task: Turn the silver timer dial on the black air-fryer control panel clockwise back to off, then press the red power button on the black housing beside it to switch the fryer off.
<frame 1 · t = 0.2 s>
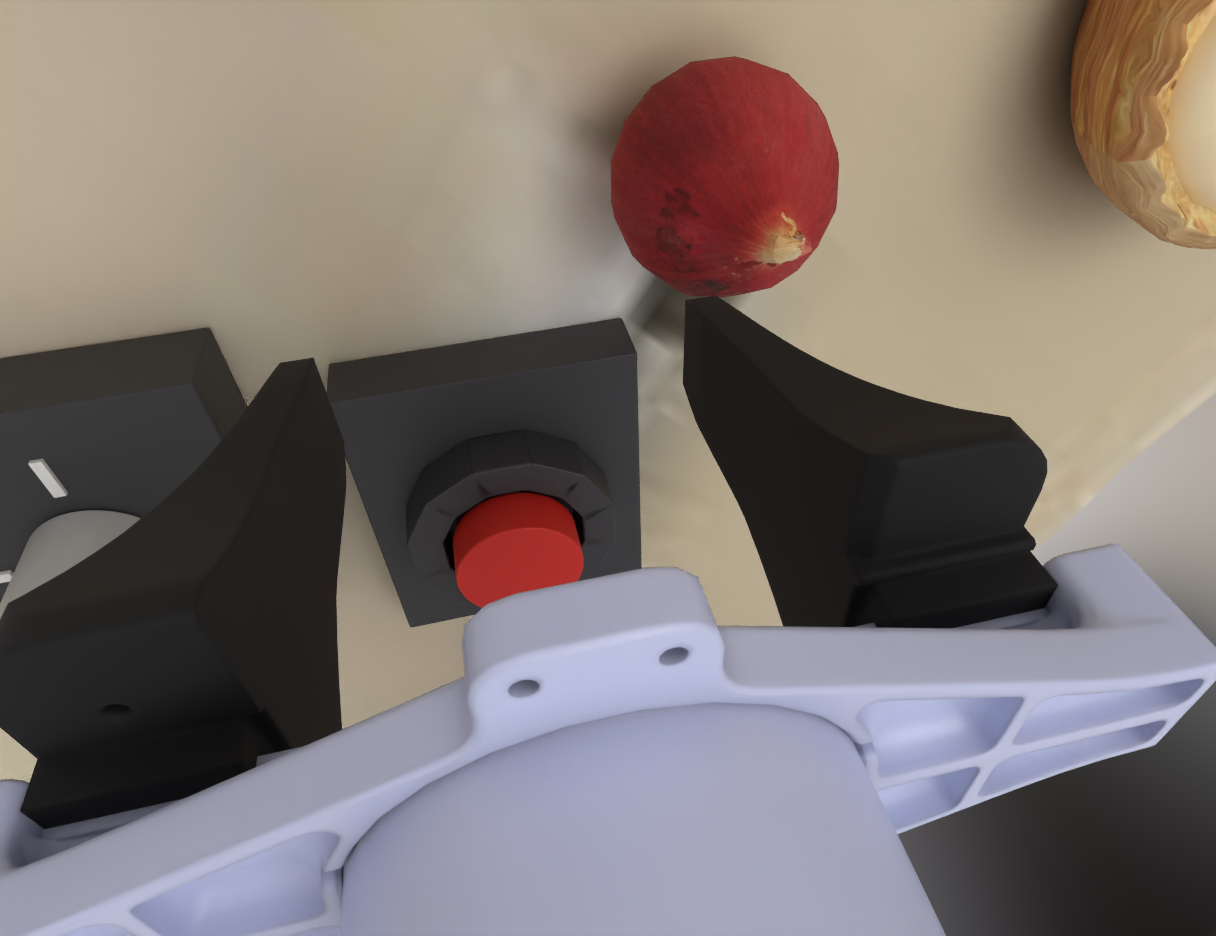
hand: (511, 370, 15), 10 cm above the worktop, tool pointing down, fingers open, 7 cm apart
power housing: (503, 468, 30), on the worktop
timer dial: (93, 603, 24), point 5 cm above the worktop, hinge at 100.0°
timer panel: (130, 492, 27), on the worktop
onion: (679, 131, 23), on the worktop
power button: (518, 554, 27), point 5 cm above the worktop, slide at 0.2 cm
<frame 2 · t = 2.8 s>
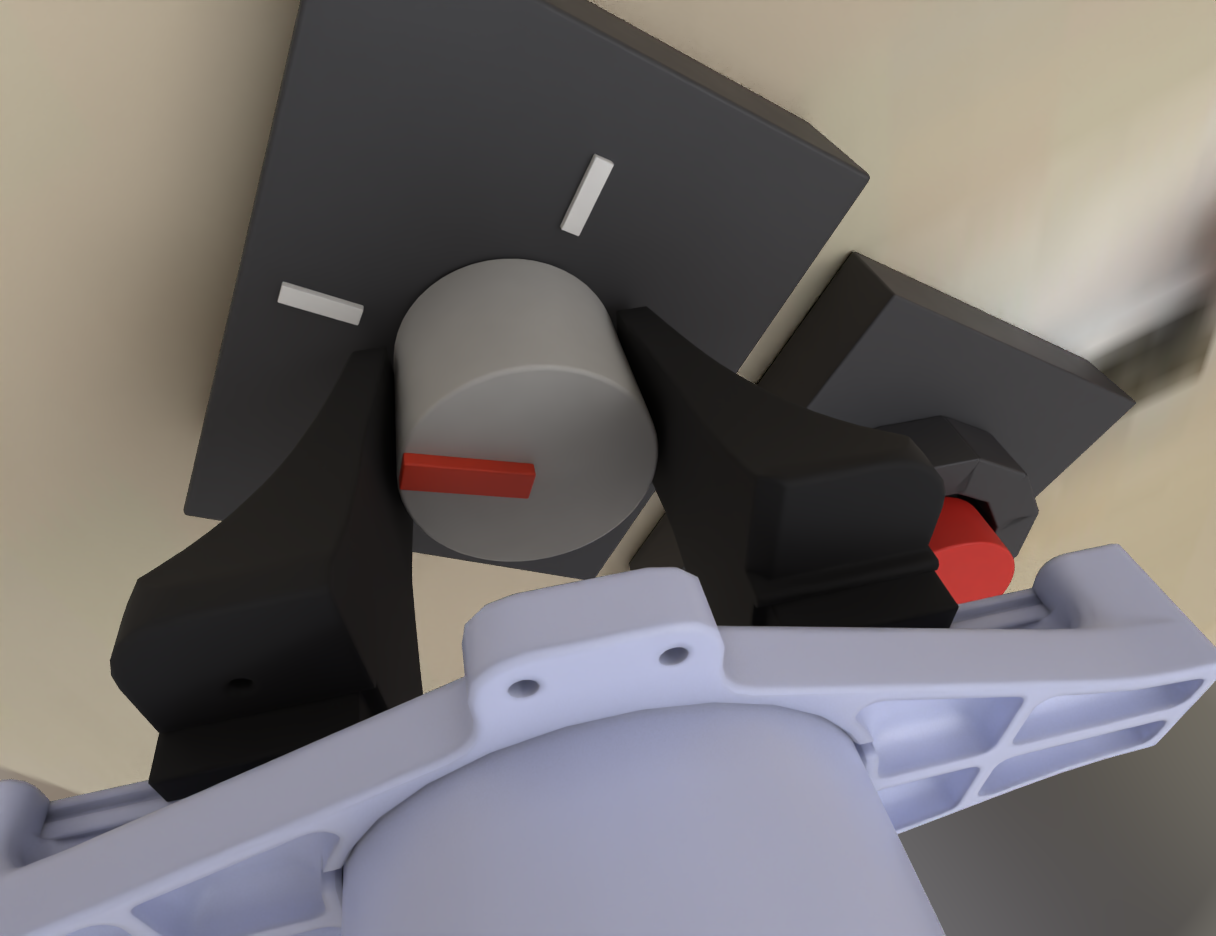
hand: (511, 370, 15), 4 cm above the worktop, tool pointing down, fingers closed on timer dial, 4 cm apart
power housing: (848, 465, 25), on the worktop
timer dial: (520, 416, 14), point 5 cm above the worktop, hinge at 99.9°, touching gripper
timer panel: (491, 283, 18), on the worktop
power button: (920, 574, 21), point 5 cm above the worktop, slide at 0.2 cm
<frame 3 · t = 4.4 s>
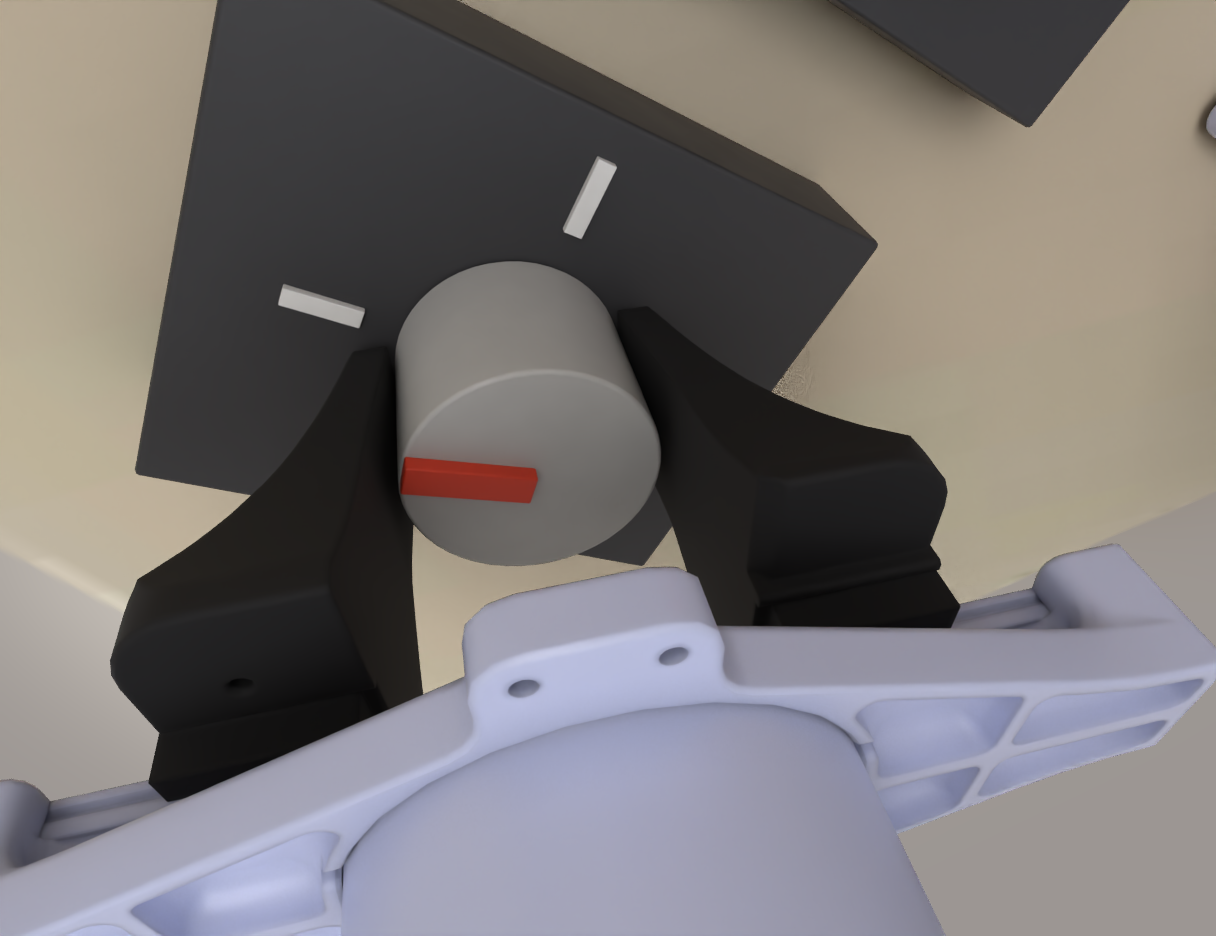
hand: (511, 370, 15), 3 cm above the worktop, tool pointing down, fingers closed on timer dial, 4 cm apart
timer dial: (522, 420, 14), point 5 cm above the worktop, hinge at 9.8°, touching gripper
timer panel: (493, 285, 17), on the worktop
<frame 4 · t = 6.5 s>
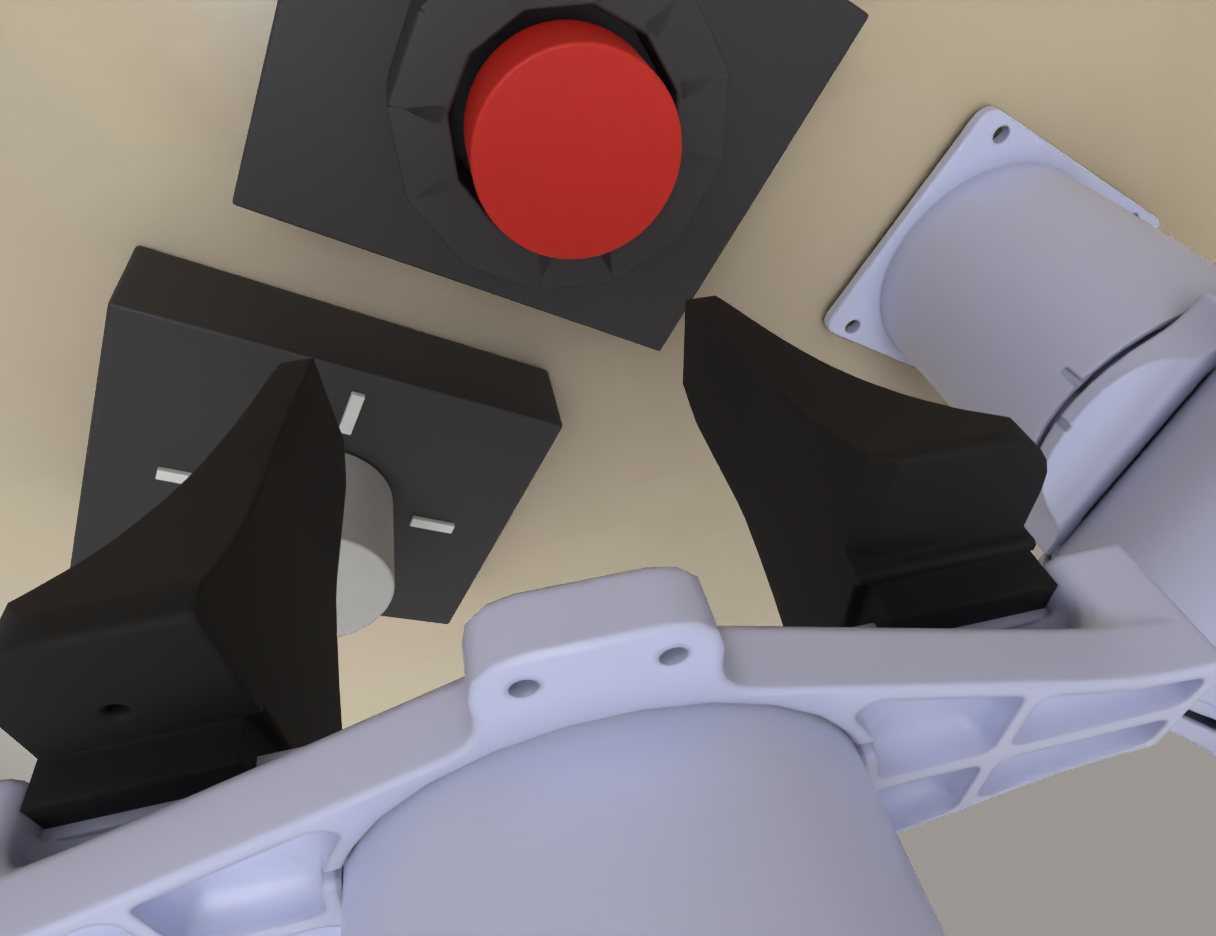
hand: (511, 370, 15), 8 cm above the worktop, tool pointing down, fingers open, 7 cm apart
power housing: (539, 80, 20), on the worktop
timer dial: (313, 548, 22), point 5 cm above the worktop, hinge at 9.8°
timer panel: (322, 438, 25), on the worktop
power button: (571, 145, 16), point 5 cm above the worktop, slide at 0.2 cm
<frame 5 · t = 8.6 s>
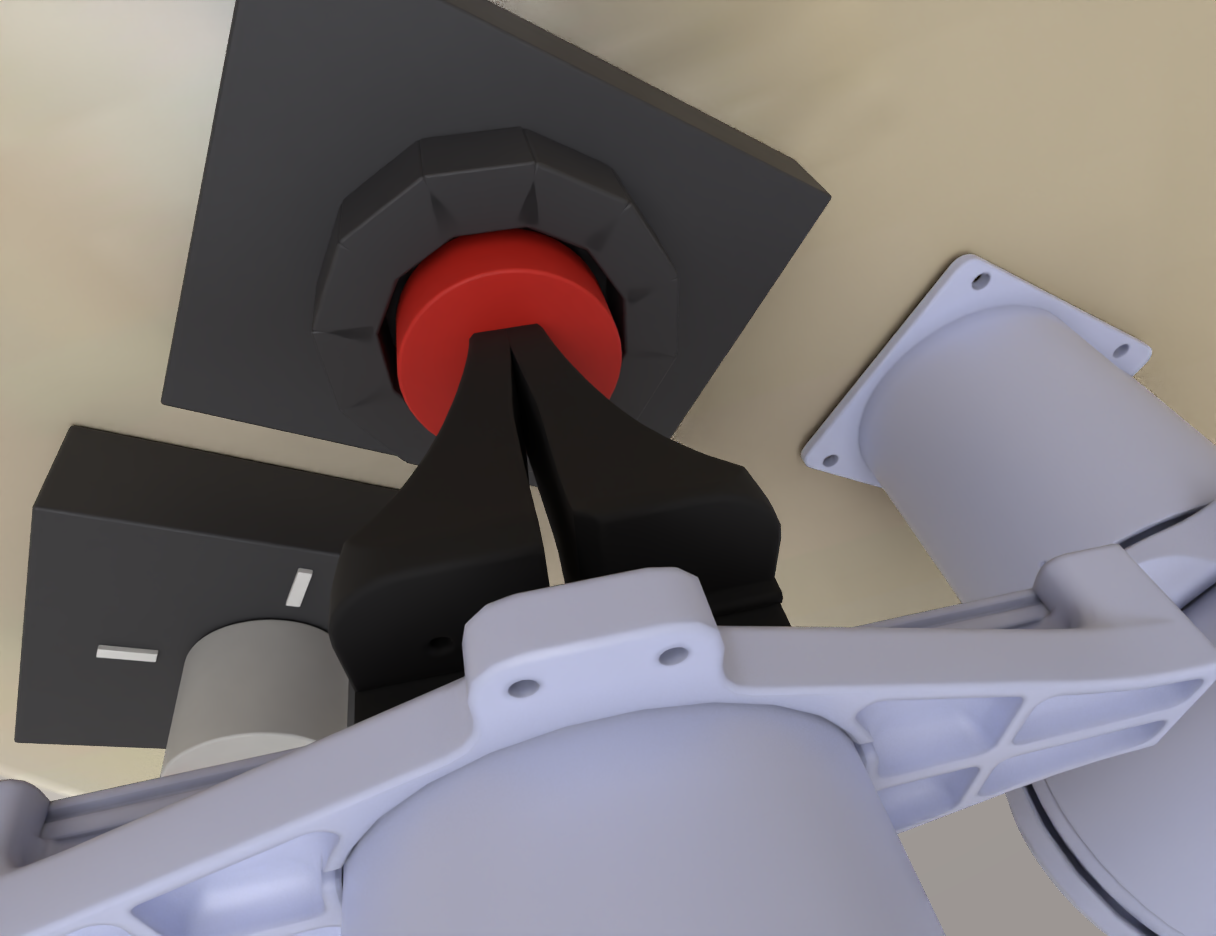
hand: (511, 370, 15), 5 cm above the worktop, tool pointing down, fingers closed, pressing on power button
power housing: (488, 254, 19), on the worktop
timer dial: (262, 724, 21), point 5 cm above the worktop, hinge at 9.8°
timer panel: (279, 584, 25), on the worktop
power button: (508, 347, 16), point 4 cm above the worktop, slide at -0.3 cm, touching gripper
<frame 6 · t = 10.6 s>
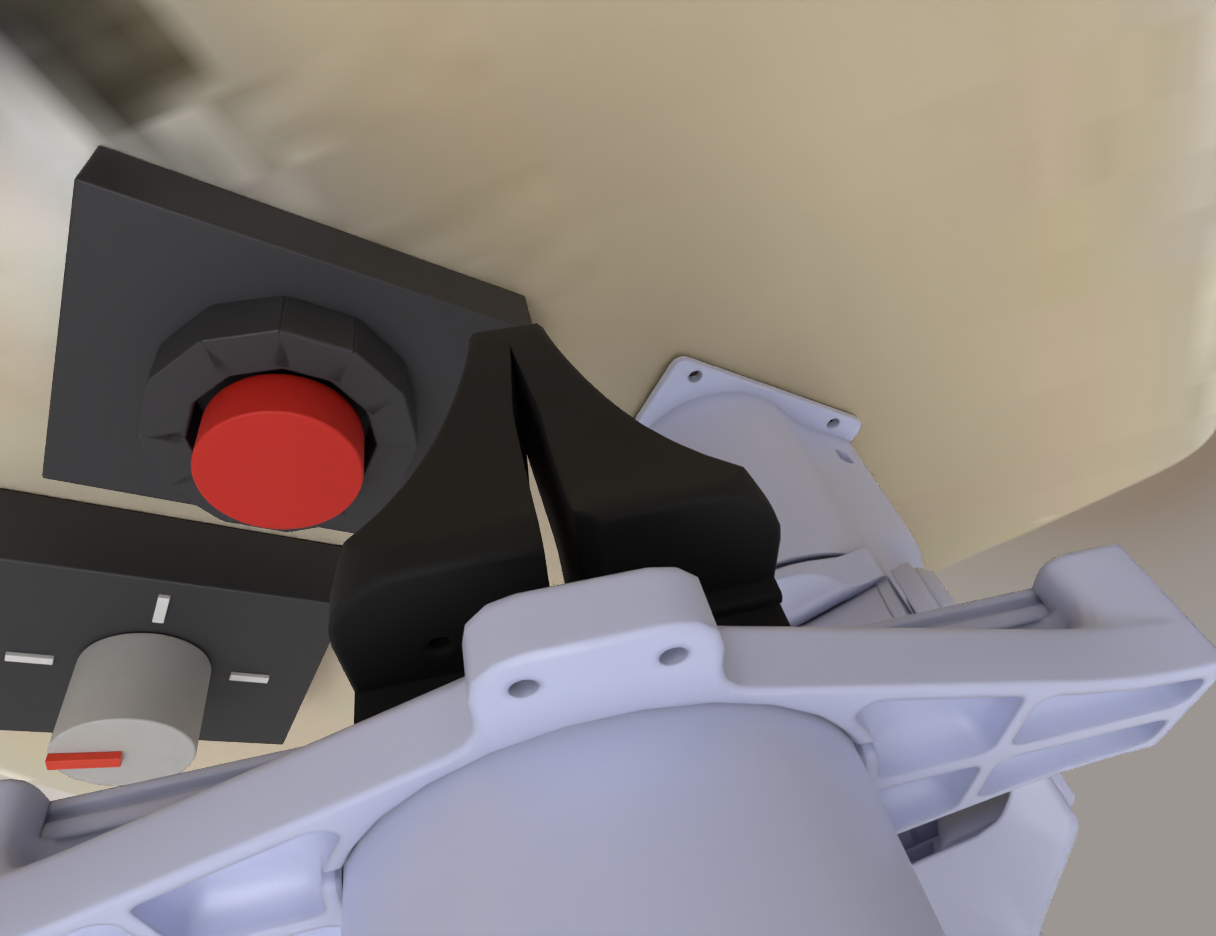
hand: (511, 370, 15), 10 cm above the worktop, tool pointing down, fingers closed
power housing: (295, 363, 25), on the worktop
timer dial: (134, 713, 27), point 5 cm above the worktop, hinge at 9.8°
timer panel: (162, 603, 31), on the worktop
power button: (282, 454, 22), point 5 cm above the worktop, slide at 0.2 cm
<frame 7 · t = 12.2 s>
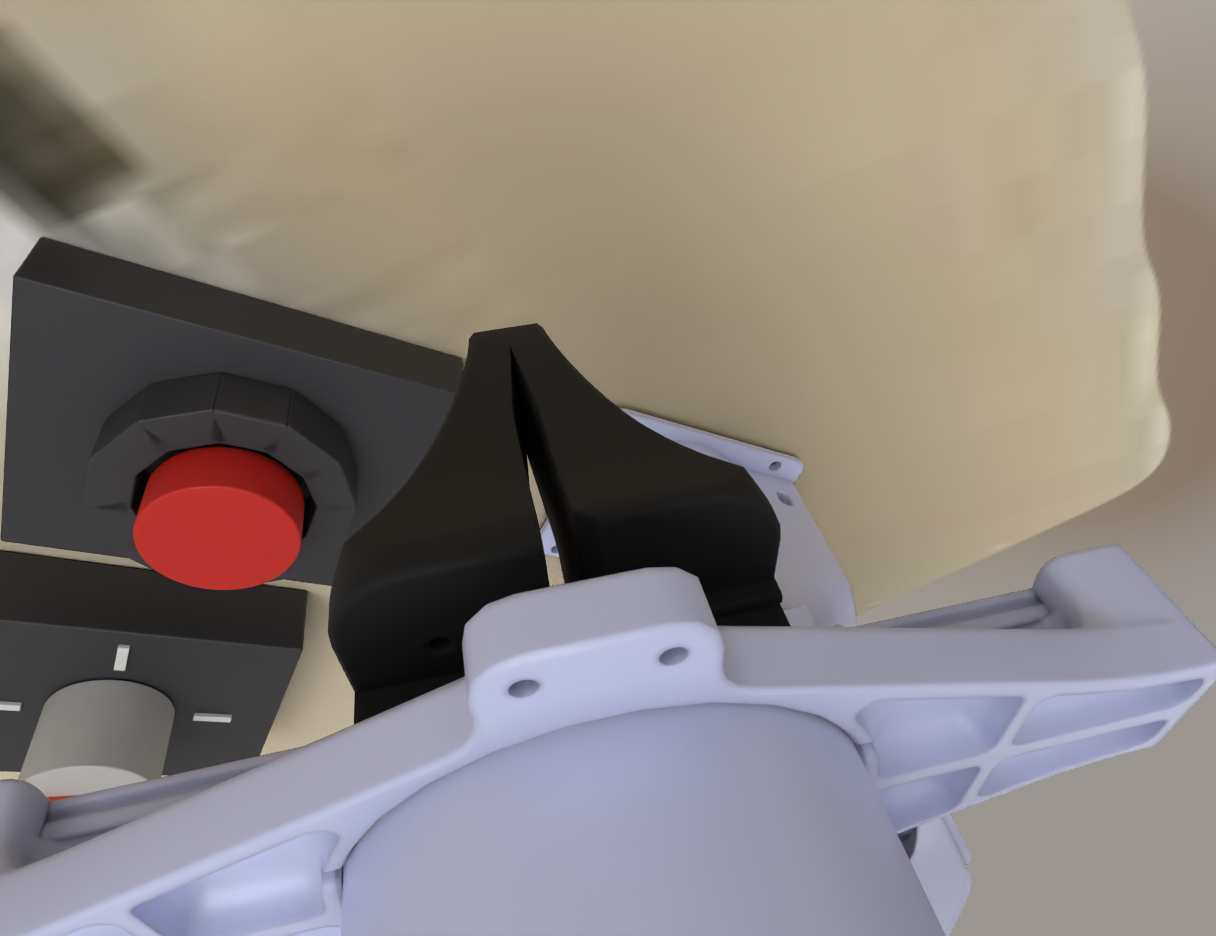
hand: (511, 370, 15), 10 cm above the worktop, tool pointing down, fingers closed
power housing: (243, 425, 26), on the worktop
timer dial: (98, 756, 29), point 5 cm above the worktop, hinge at 9.8°
timer panel: (129, 646, 32), on the worktop
power button: (224, 520, 23), point 5 cm above the worktop, slide at 0.2 cm
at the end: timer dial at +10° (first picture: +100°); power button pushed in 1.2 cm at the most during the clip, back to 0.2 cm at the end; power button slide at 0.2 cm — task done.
